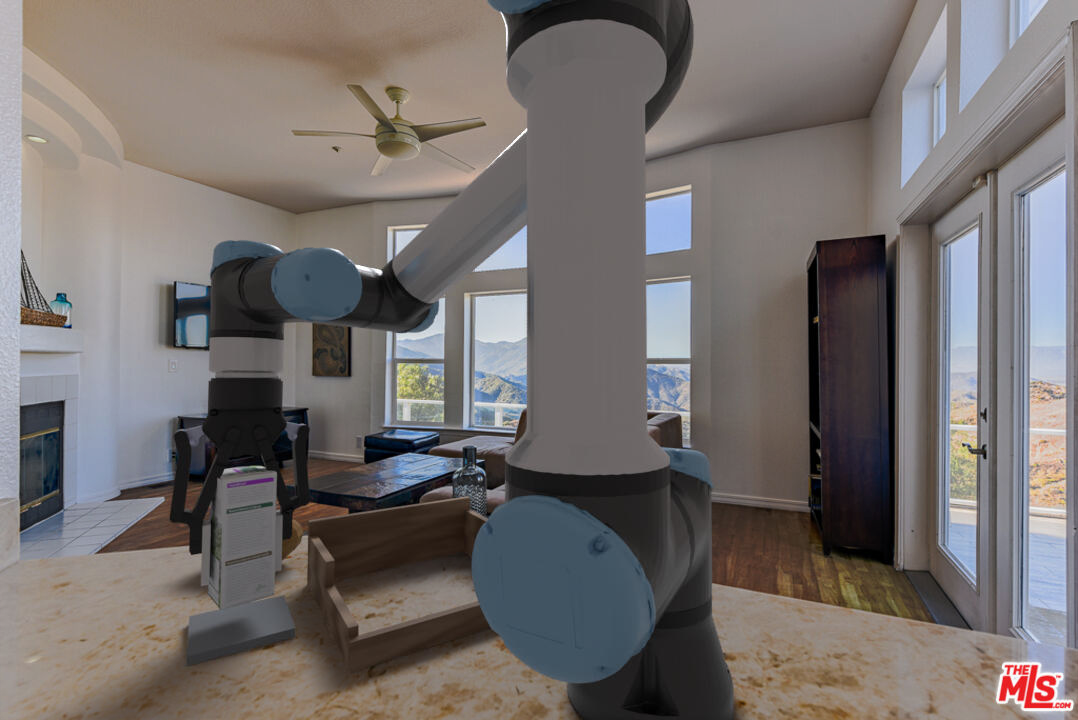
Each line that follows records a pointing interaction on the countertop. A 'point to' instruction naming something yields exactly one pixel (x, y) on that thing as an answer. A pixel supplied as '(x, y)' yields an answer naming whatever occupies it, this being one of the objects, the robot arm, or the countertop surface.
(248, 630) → the slate mat
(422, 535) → the frame
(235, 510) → the syrup box
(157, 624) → the countertop surface
